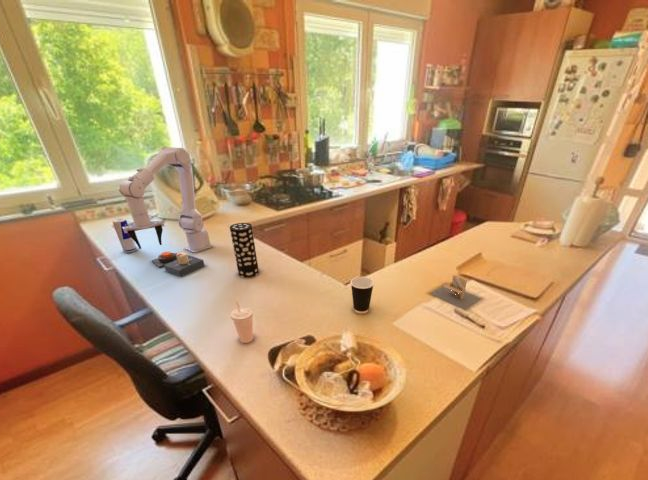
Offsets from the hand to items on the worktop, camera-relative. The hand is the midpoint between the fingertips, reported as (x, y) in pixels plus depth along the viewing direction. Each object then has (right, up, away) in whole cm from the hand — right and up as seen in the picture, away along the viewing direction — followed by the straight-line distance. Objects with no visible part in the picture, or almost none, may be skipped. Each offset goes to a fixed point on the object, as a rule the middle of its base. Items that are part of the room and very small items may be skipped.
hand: (150, 246), depth 140 cm
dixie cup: (+85, -27, -21) cm, 92 cm away
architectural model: (+121, -21, -14) cm, 124 cm away
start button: (+1, -3, +11) cm, 11 cm away
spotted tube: (+40, -11, +2) cm, 42 cm away
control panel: (+12, -9, +6) cm, 16 cm away
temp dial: (+12, -6, +4) cm, 14 cm away
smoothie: (+49, -36, -35) cm, 70 cm away
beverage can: (-22, +2, +22) cm, 31 cm away
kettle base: (+1, -4, +12) cm, 13 cm away
